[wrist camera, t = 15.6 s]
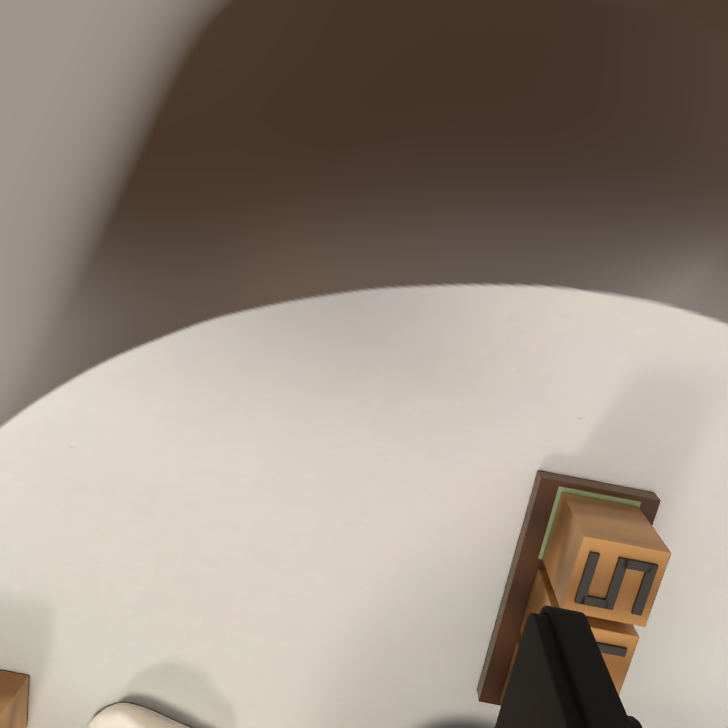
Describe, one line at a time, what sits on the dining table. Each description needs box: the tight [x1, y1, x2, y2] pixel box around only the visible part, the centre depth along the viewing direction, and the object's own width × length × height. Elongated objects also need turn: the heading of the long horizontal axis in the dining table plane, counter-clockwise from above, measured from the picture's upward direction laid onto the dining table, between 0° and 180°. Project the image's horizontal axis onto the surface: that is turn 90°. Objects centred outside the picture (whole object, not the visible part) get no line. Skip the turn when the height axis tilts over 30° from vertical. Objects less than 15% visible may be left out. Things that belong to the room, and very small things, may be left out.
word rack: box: [477, 471, 660, 705], centre depth 39 cm, size 16×7×6 cm, turn 170°
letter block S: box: [542, 492, 671, 627], centre depth 37 cm, size 4×4×5 cm
